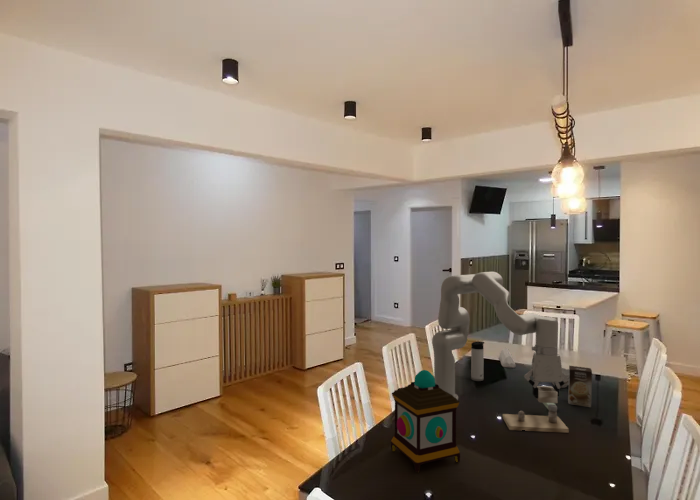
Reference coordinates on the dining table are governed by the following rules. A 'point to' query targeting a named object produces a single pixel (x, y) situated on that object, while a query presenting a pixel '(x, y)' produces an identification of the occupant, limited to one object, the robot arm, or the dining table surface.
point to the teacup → (566, 372)
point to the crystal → (506, 358)
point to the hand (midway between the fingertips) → (545, 397)
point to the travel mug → (477, 361)
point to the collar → (547, 394)
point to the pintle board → (535, 422)
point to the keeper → (551, 407)
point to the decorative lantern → (425, 421)
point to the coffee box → (580, 386)
